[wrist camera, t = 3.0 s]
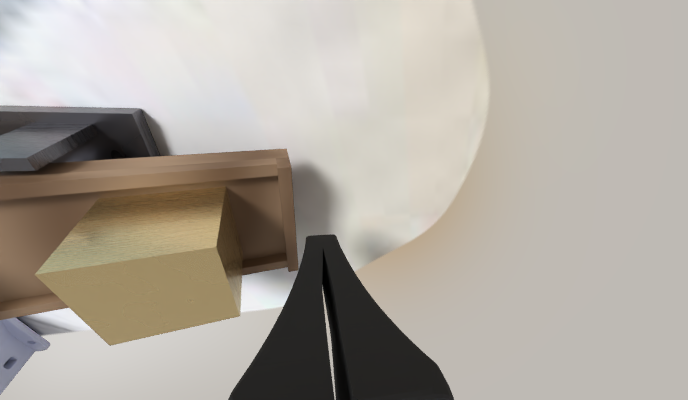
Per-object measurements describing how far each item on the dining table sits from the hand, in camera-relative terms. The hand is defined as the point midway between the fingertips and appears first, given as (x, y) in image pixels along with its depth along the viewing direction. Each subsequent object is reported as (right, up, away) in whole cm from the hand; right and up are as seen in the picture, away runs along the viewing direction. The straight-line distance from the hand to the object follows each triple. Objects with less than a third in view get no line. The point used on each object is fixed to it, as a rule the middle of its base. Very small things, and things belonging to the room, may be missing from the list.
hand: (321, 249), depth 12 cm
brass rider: (-7, +1, +1) cm, 7 cm away
